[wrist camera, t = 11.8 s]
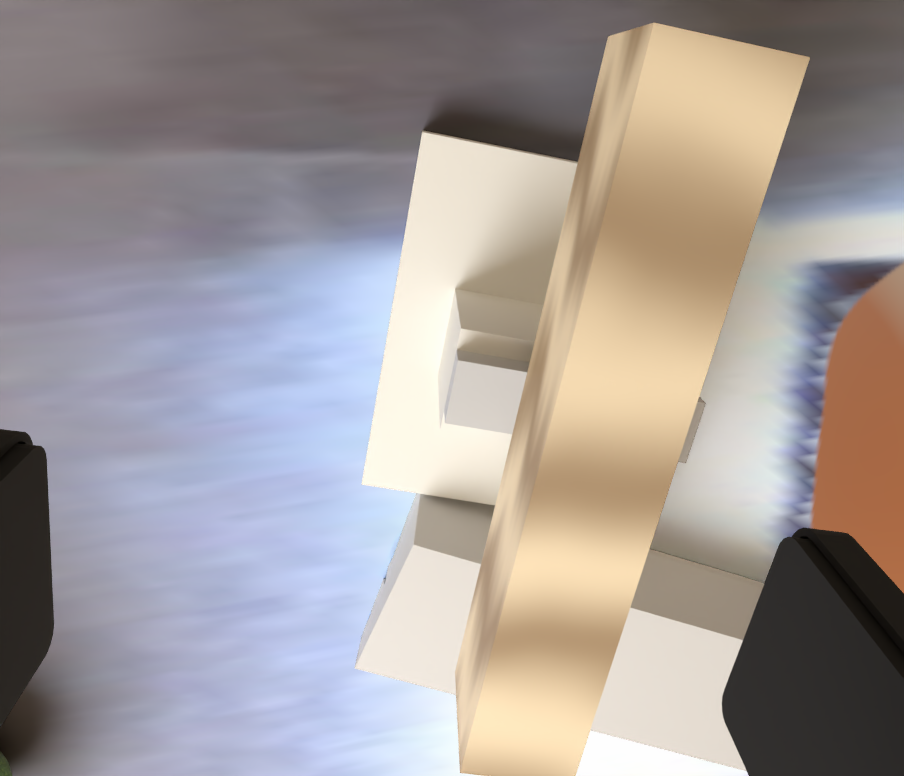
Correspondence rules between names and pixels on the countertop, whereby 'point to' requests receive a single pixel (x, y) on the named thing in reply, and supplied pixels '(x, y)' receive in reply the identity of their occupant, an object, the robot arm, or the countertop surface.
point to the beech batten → (614, 380)
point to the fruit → (4, 766)
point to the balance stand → (467, 316)
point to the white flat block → (638, 653)
